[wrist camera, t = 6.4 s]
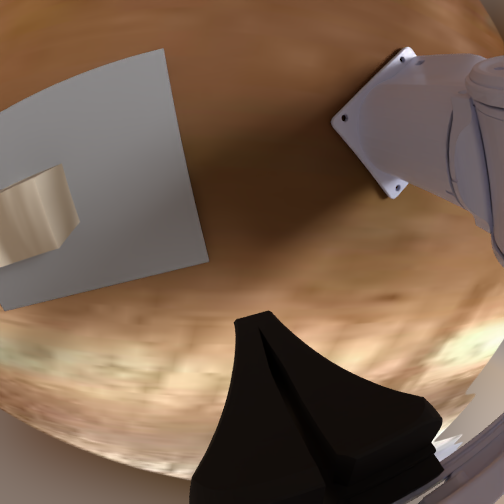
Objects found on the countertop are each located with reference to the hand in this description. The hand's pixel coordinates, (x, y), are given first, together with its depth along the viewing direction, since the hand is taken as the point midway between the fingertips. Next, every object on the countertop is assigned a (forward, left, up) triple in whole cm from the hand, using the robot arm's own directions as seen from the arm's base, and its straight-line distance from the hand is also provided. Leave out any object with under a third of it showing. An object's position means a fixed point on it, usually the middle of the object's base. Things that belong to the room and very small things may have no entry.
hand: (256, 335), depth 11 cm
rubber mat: (+5, -10, -10) cm, 16 cm away
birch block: (+4, -10, -8) cm, 13 cm away
